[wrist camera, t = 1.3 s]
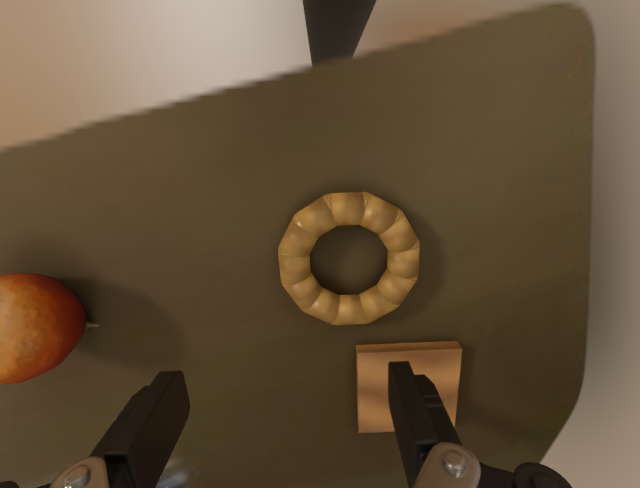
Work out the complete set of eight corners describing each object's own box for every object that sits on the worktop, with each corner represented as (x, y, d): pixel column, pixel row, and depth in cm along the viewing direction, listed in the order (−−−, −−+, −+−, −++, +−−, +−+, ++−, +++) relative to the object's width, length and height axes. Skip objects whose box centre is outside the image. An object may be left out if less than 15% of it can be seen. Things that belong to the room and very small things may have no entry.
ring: (274, 193, 25) (270, 199, 23) (417, 186, 25) (426, 191, 23) (286, 317, 29) (283, 333, 27) (412, 311, 29) (419, 327, 26)
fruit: (56, 382, 29) (-68, 412, 22) (38, 300, 31) (-81, 301, 24) (128, 345, 28) (23, 363, 20) (104, 262, 30) (1, 250, 22)
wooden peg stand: (355, 344, 30) (374, 463, 19) (457, 340, 30) (533, 458, 19) (357, 422, 33) (374, 563, 22) (449, 419, 32) (512, 559, 22)
